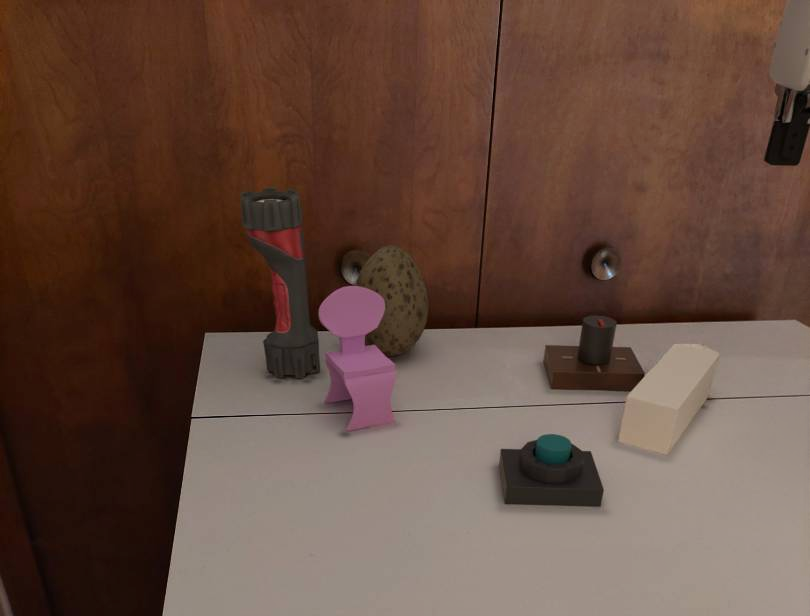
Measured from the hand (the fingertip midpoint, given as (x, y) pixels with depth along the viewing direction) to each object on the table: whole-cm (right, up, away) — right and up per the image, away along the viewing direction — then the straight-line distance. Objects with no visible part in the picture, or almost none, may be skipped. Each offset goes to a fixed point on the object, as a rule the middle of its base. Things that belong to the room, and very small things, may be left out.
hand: (780, 163), depth 85 cm
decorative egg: (-42, -13, +30) cm, 54 cm away
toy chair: (-46, -24, +15) cm, 54 cm away
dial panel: (-14, -17, +25) cm, 34 cm away
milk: (-12, -27, +7) cm, 30 cm away
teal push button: (-24, -31, 0) cm, 40 cm away
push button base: (-24, -34, +2) cm, 42 cm away
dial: (-14, -15, +24) cm, 32 cm away
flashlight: (-56, -17, +25) cm, 64 cm away
